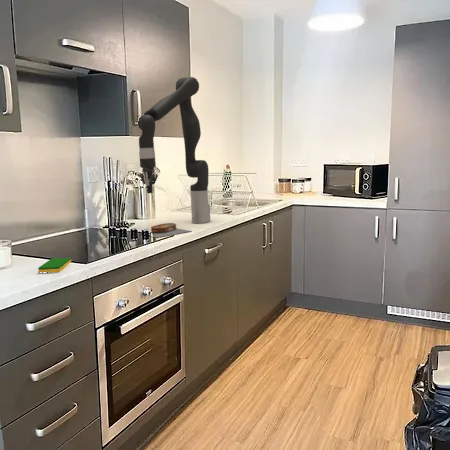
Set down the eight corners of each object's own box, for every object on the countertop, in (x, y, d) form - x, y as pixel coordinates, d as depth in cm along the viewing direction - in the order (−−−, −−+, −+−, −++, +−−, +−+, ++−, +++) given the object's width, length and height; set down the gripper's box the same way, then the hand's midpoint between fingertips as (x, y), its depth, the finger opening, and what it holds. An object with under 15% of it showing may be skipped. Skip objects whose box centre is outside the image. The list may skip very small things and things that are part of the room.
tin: (165, 222, 236) (179, 222, 232) (165, 229, 237) (179, 228, 233) (147, 227, 223) (161, 227, 219) (148, 234, 224) (162, 233, 220)
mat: (174, 228, 235) (174, 227, 235) (191, 231, 225) (191, 230, 225) (140, 234, 222) (140, 233, 222) (156, 238, 212) (156, 237, 212)
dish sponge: (38, 274, 157) (37, 267, 156) (51, 264, 170) (51, 258, 170) (59, 273, 157) (59, 266, 157) (71, 263, 171) (71, 257, 170)
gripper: (161, 157, 224) (163, 193, 227) (146, 157, 234) (148, 191, 237) (148, 157, 220) (150, 194, 222) (133, 158, 229) (136, 193, 232)
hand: (149, 193), depth 230 cm, fingers closed
